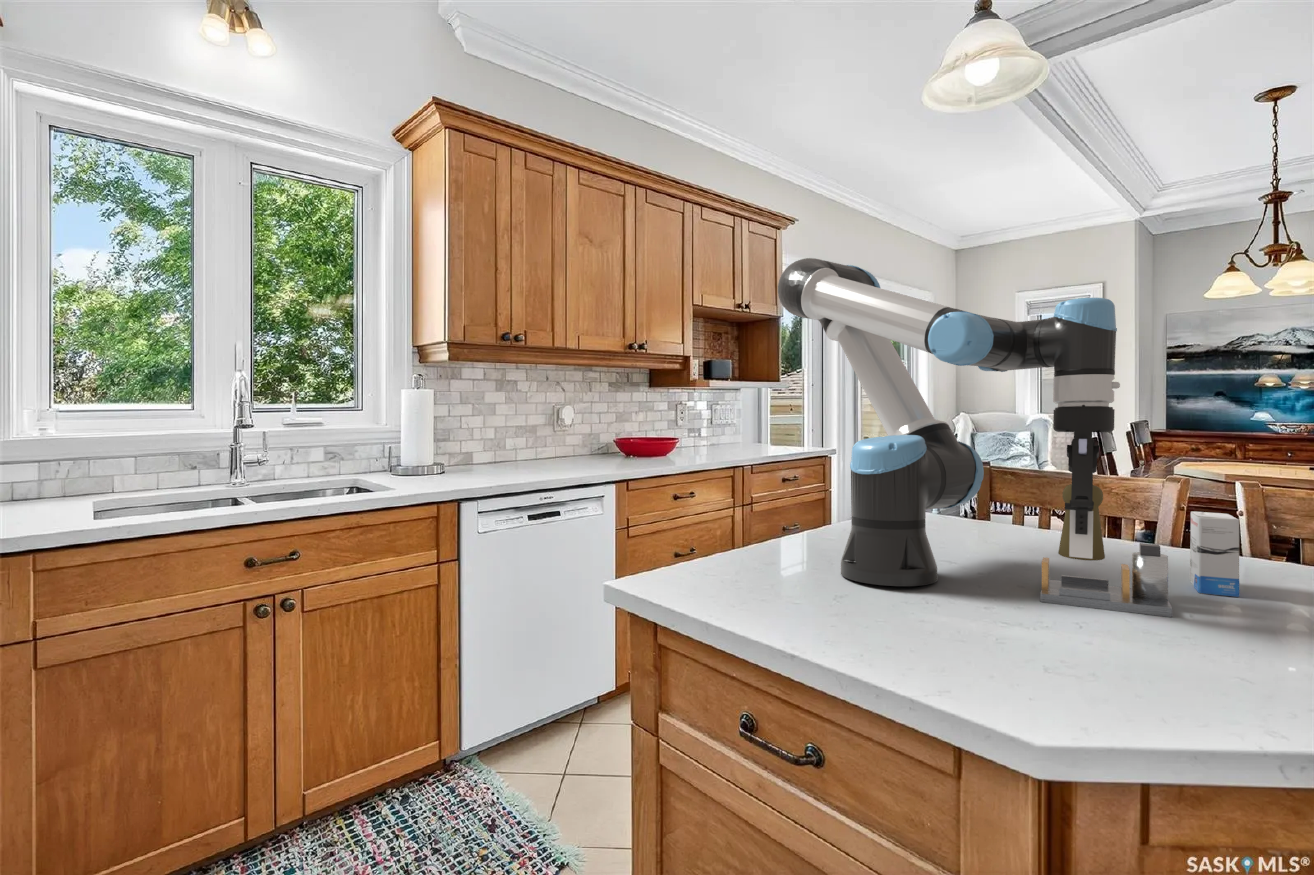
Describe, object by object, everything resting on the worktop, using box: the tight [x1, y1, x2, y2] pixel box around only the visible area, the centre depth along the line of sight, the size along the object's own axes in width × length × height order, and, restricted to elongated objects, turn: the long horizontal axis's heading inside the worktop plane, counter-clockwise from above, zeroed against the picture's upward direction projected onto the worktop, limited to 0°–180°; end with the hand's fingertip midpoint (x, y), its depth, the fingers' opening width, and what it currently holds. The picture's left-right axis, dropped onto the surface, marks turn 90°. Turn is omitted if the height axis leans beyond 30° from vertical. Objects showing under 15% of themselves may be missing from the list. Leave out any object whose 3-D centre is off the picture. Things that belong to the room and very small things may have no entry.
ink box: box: [1189, 510, 1240, 598], centre depth 101 cm, size 8×5×12 cm, turn 148°
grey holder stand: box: [1039, 542, 1173, 618], centre depth 95 cm, size 15×11×9 cm
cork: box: [1057, 483, 1106, 562], centre depth 100 cm, size 6×6×11 cm
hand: (1081, 550), depth 96 cm, fingers open, 13 cm apart
